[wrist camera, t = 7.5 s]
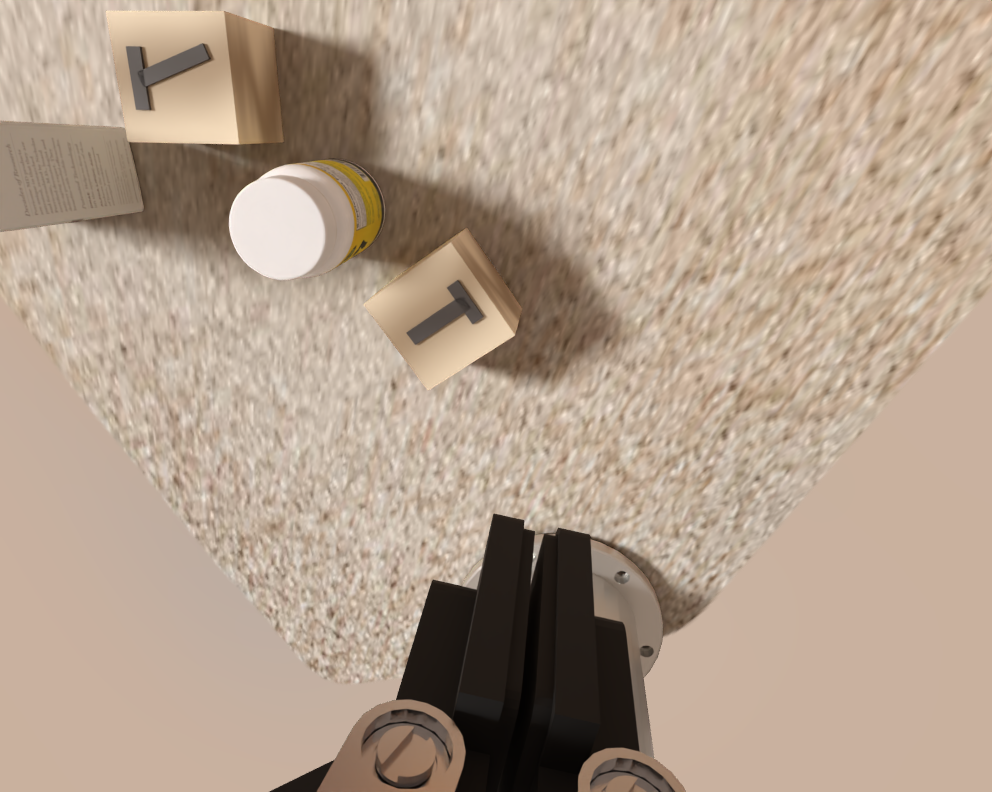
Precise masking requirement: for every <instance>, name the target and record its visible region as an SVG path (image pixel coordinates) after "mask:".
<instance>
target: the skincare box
mask: <svg viewBox="0 0 992 792" xmlns="http://www.w3.org/2000/svg"><path fill="white" fill-rule="evenodd" d="M143 208H144V206H143V201H142V196H141V190H140V186H139V181H138V177H137V173H136V168H135V164H134V159H133V155H132V152H131V148H130V144H129V142H128V140H127V134H126V130H125V129H124V128H122V127H108V126H87V125H69V124H49V123H32V122H14V121H0V232H4V231H12V230H20V229H28V228H35V227H42V226H48V225H55V224H62V223H71V222H78V221H82V220H89V219H96V218H103V217H110V216H116V215H123V214H130V213H136V212H142V211H143Z"/></svg>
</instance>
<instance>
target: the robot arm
mask: <svg viewBox="0 0 992 792" xmlns="http://www.w3.org/2000/svg"><path fill="white" fill-rule="evenodd" d="M662 638H663V621H662V615H661V609H660V605H659V602H658V599H657V596H656V593H655V591H654V589H653V587H652V585H651V584H650V582H649V580H648V579H647V577H646V576H645V575H644V574H643V572H642V571H641V570H640V569H639V568H638V567H637V566H636V565H635V564H634V563H633V562H632V561H631V560H629V559H628V558H627V557H625V556H624V555H623V554H621V553H620V552H619V551H617V550H615V549H613V548H611V547H609V546H607V545H605V544H603V543H601V542H598V541H594V540H591V538H590V535H589V534H584V533H579V532H575V531H570V530H566V529H561V528H558V529H557V532H556V534H538V535H535V531H531V530H526V529H524V520H521V519H516V518H512V517H507V516H502V515H498V514H493V518H492V523H491V527H490V532H489V536H488V541H487V545H486V550H485V554H484V558H482V559H481V560H480V561H479V562H478V563H477V564H476V565H475V566H474V567H473V568H472V570H471V571H470V573H469V574H468V576H467V577H466V578H465V580H464V582H463V585H462V586H459V585H454V584H450V583H445V582H441V581H436V580H433V581H432V583H431V586H430V589H429V592H428V596H427V599H426V602H425V606H424V609H423V612H422V615H421V619H420V622H419V625H418V629H417V632H416V635H415V639H414V642H413V645H412V649H411V652H410V655H409V658H408V662H407V665H406V668H405V672H404V675H403V678H402V682H401V685H400V688H399V692H398V695H397V698H396V700H392V701H389V702H386V703H383V704H379V705H377V706H375V707H374V708H372V709H371V710H369V711H368V712H366V713H364V714H363V715H362V717H361V718H360V719H359V720H358V722H357V723H356V724H355V725H354V727H353V728H352V730H351V732H350V733H349V735H348V737H347V739H346V741H345V742H344V744H343V746H342V748H341V749H340V751H339V753H338V755H337V757H336V758H335V760H333V761H331V762H329V763H327V764H325V765H323V766H321V767H319V768H317V769H315V770H313V771H311V772H309V773H306V774H305V775H302V776H300V777H299V778H297V779H294V780H292V781H290V782H288V783H286V784H284V785H282V786H280V787H278V788H276V789H274V790H272V791H270V792H686V791H685V789H684V787H683V786H682V784H681V783H680V782H679V781H678V779H677V778H676V777H675V776H674V775H673V773H672V772H671V771H669V770H668V769H667V768H666V767H664V766H663V765H662V764H661V763H660V762H658V761H657V760H655V759H654V753H653V746H652V738H651V732H650V723H649V716H648V708H647V701H646V694H645V686H644V679H643V678H644V677H645V676H646V675H647V674H648V672H649V671H650V670H651V668H652V666H653V664H654V663H655V661H656V659H657V657H658V654H659V651H660V647H661V644H662Z"/></svg>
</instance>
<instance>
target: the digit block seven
mask: <svg viewBox="0 0 992 792" xmlns="http://www.w3.org/2000/svg"><path fill="white" fill-rule="evenodd" d="M106 16H107V22H108V28H109V33H110V39H111V45H112V51H113V57H114V63H115V69H116V75H117V81H118V87H119V93H120V99H121V105H122V111H123V116H124V122H125V128H126V134H127V140H128V142H146V143H196V144H258V143H279V142H284V139H283V128H282V117H281V106H280V95H279V84H278V73H277V62H276V51H275V40H274V29H273V28H272V27H269V26H266V25H263V24H260V23H258V22H255V21H252V20H249V19H246V18H243V17H240V16H237V15H234V14H231V13H228V12H225V11H106Z"/></svg>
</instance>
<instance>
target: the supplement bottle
mask: <svg viewBox="0 0 992 792" xmlns="http://www.w3.org/2000/svg"><path fill="white" fill-rule="evenodd" d="M384 220H385V203H384V198H383V195H382V192H381V190H380V188H379V186H378V184H377V183H376V181H375V180H374V178H373V177H372V176H371V175H370V174H369V173H368V172H367V171H366V170H365V169H363V168H362V167H361V166H359V165H357V164H355V163H353V162H350V161H347V160H343V159H324V160H318V161H311V162H304V163H294V164H287V165H283V166H280V167H277V168H274V169H272V170H270V171H269V172H267V173H266V174H264V175H263V176H261V177H260V178H259V179H258V180H256V181H254V182H252V183H250V184H249V185H247V186H246V187H245V188H243V189H242V190H241V192H240V193H239V194H238V195H237V197H236V198H235V200H234V202H233V205H232V207H231V211H230V216H229V230H230V235H231V239H232V242H233V244H234V247H235V249H236V251H237V252H238V254H239V255H240V257H241V258H242V259H243V261H244V262H245V263H246V264H247V265H248V266H249V267H251V268H252V269H253V270H255V271H256V272H258V273H259V274H261V275H263V276H266V277H269V278H272V279H276V280H292V279H297V278H308V277H315V276H319V275H322V274H325V273H327V272H329V271H331V270H332V269H334V268H336V267H337V266H339V265H341V264H342V263H344V262H346V261H347V260H349V259H350V258H352V257H354V256H355V255H357V254H359V253H360V252H362V251H363V250H365V249H366V248H368V247H369V246H370V245H371V244H372V243H373V242H374V241H375V240H376V239H377V237H378V236H379V234H380V232H381V230H382V227H383V224H384Z"/></svg>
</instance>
